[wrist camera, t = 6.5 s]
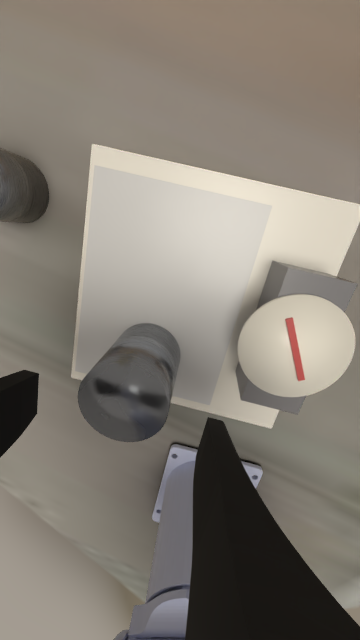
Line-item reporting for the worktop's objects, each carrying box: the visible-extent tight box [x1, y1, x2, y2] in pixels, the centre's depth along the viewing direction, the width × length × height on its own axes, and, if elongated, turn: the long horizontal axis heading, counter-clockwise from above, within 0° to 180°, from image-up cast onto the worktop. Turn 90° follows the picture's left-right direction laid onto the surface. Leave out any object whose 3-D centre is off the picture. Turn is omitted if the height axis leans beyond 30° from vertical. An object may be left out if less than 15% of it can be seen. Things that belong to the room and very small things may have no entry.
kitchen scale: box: [71, 144, 360, 429], centre depth 15 cm, size 14×15×6 cm
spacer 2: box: [78, 323, 181, 442], centre depth 14 cm, size 4×4×5 cm
